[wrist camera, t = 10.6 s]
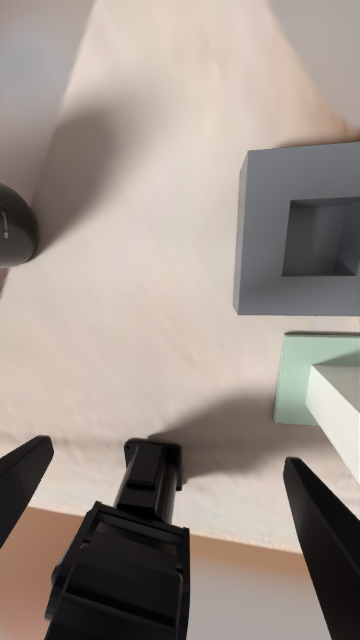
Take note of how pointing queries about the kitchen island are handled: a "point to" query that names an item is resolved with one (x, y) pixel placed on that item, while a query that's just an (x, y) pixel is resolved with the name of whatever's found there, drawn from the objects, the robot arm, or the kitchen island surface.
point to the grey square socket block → (299, 232)
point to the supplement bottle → (15, 229)
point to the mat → (308, 371)
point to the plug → (337, 409)
